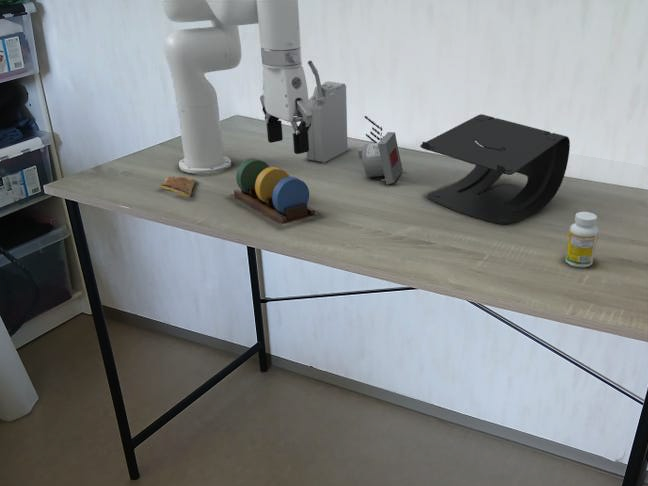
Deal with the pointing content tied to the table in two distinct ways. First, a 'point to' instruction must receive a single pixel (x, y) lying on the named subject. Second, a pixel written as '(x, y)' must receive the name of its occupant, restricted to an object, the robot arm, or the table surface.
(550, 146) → the laptop stand
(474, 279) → the table surface
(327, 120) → the gas can
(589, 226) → the supplement bottle
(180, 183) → the shard
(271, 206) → the disc rack
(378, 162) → the voltmeter
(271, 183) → the mustard disc
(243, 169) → the green disc
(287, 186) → the blue disc
